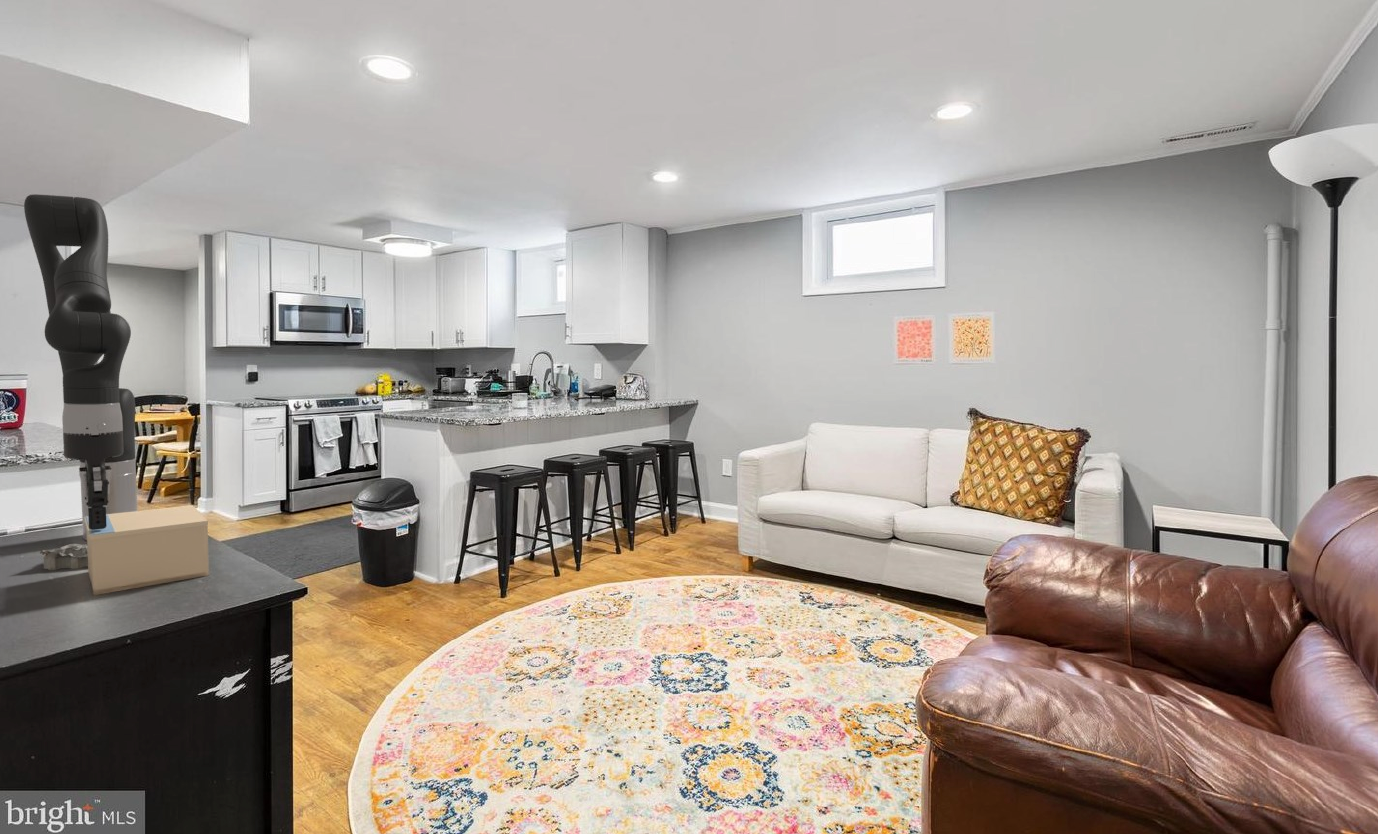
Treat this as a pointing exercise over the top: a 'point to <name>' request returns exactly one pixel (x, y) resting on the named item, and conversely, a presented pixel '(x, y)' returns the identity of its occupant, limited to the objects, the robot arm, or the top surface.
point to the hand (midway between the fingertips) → (97, 528)
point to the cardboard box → (147, 558)
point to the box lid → (148, 521)
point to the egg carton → (66, 557)
